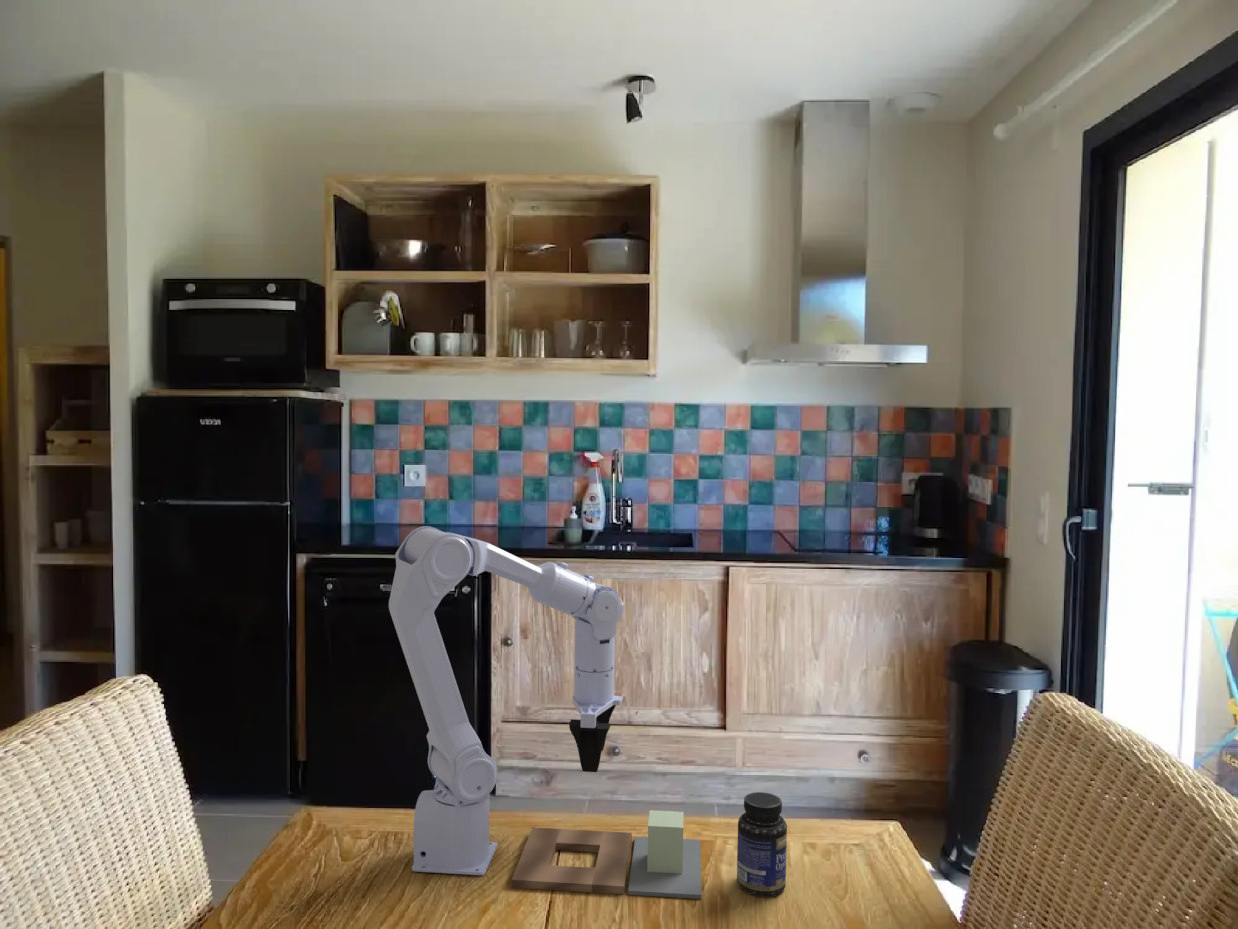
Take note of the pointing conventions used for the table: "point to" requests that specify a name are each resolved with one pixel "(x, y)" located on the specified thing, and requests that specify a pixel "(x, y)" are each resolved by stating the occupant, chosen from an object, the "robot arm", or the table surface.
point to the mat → (666, 882)
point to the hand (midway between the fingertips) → (593, 760)
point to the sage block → (665, 842)
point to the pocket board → (543, 875)
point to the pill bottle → (762, 846)
